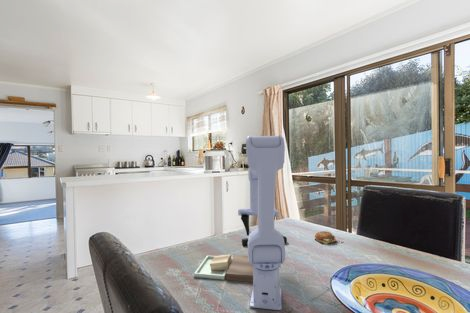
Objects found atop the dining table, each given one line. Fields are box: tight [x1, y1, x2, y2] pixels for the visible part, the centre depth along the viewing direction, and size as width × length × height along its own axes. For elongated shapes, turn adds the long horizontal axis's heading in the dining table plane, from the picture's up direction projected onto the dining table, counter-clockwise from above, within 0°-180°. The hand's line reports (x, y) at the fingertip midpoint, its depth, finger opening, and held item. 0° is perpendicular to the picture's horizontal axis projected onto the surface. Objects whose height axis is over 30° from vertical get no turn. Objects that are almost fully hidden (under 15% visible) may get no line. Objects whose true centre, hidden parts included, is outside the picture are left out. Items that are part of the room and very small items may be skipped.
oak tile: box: [210, 253, 232, 271], centre depth 83 cm, size 6×6×2 cm
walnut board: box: [225, 254, 253, 283], centre depth 81 cm, size 14×9×2 cm, turn 169°
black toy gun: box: [241, 231, 288, 246], centre depth 110 cm, size 3×20×16 cm
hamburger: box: [314, 230, 344, 245], centre depth 107 cm, size 14×14×6 cm
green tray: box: [193, 255, 234, 280], centre depth 83 cm, size 14×10×1 cm
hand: (258, 235), depth 88 cm, fingers open, 7 cm apart
